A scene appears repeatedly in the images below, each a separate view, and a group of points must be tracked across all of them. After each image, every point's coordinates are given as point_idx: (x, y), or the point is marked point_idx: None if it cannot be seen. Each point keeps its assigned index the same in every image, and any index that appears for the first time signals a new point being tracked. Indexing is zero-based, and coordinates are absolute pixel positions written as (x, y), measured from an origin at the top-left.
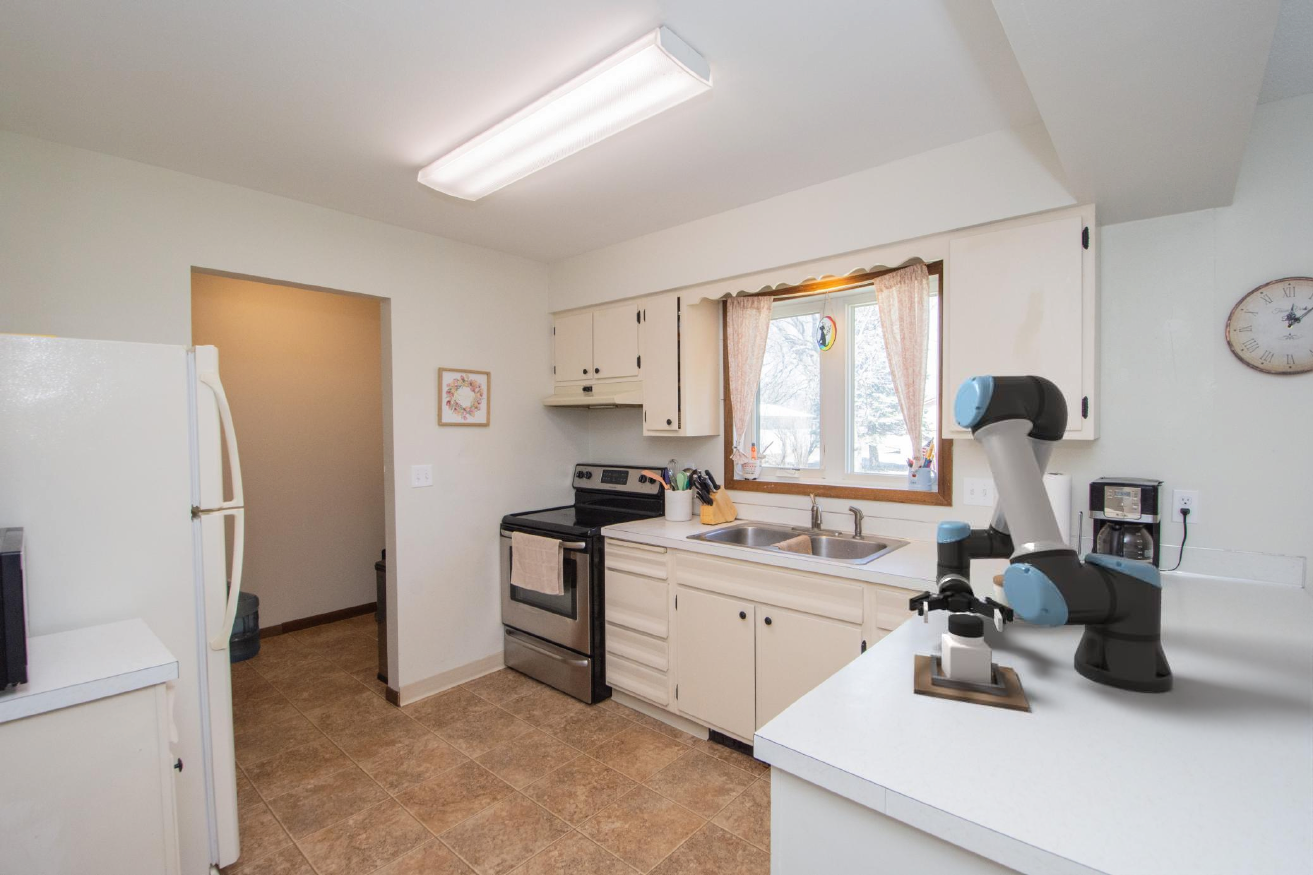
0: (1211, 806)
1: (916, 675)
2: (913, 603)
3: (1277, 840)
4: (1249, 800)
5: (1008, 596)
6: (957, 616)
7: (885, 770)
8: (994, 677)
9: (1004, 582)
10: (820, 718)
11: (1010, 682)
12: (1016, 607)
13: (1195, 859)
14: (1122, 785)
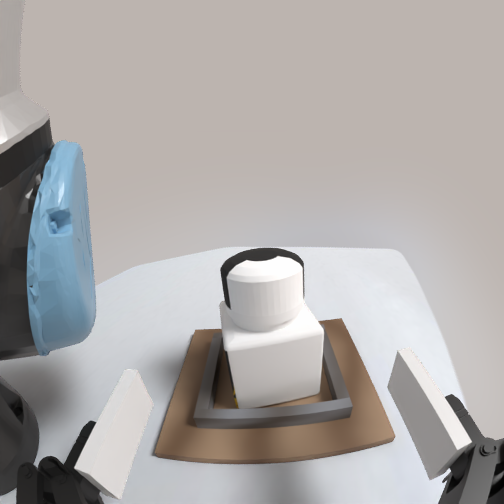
0: (137, 279)
1: (353, 350)
2: (501, 441)
3: (129, 271)
4: (110, 287)
5: (83, 284)
6: (280, 250)
7: (321, 252)
8: (215, 387)
9: (72, 231)
10: (388, 266)
11: (190, 386)
12: (91, 300)
13: (179, 257)
14: (175, 279)
